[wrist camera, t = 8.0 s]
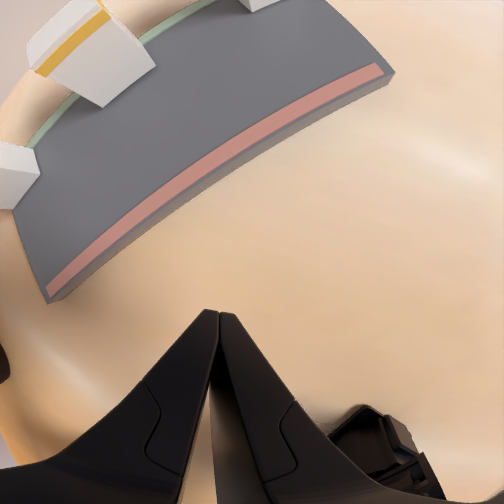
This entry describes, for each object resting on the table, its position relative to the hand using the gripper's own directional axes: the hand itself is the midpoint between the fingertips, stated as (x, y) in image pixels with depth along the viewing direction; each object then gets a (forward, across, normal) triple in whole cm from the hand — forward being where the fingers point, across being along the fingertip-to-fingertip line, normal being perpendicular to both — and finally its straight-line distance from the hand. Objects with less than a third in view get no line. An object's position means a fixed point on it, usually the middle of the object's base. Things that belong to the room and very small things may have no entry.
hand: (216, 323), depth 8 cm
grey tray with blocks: (+16, +6, -4) cm, 18 cm away
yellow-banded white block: (+16, +10, -8) cm, 20 cm away
